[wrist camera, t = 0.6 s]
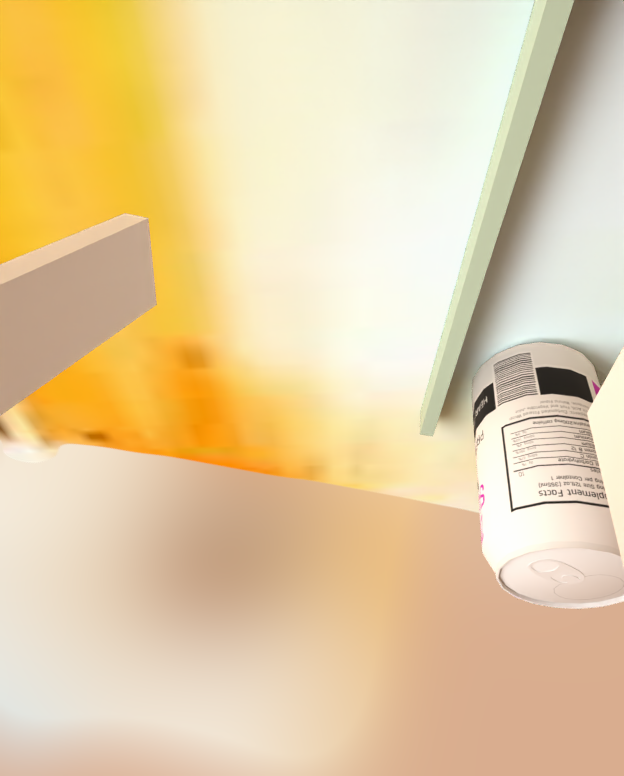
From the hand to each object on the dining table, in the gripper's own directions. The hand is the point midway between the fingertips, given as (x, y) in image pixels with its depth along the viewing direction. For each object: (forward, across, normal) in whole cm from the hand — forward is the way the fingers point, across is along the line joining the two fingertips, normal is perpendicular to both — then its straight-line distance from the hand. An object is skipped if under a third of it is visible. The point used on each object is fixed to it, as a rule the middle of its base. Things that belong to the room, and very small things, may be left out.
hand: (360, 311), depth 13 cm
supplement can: (+21, +10, -13) cm, 27 cm away
